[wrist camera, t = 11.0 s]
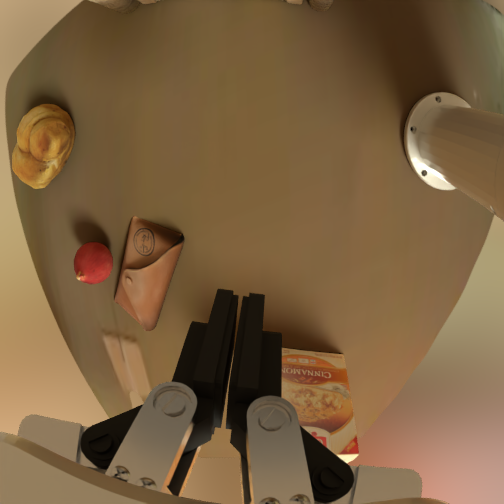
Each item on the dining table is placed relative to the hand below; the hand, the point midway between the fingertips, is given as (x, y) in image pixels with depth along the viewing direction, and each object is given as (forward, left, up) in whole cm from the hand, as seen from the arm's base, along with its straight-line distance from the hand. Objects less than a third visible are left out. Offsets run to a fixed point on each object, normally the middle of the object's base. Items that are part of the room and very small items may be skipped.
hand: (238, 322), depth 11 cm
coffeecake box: (-10, +32, -25) cm, 42 cm away
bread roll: (+30, -2, -25) cm, 39 cm away
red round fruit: (+22, +14, -25) cm, 36 cm away
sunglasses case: (+16, +17, -26) cm, 35 cm away
